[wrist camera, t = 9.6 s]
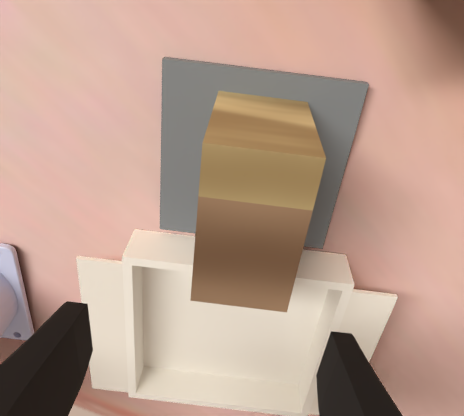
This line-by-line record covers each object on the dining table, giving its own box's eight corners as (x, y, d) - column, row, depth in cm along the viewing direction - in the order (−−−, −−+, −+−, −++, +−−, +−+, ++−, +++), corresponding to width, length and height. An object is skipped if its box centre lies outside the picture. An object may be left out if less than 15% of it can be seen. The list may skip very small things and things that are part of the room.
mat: (161, 224, 23) (159, 228, 22) (164, 56, 18) (162, 58, 18) (321, 244, 23) (322, 248, 22) (367, 82, 18) (368, 84, 18)
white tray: (104, 361, 29) (92, 392, 27) (92, 223, 23) (75, 251, 21) (336, 388, 29) (342, 422, 27) (388, 259, 23) (400, 290, 21)
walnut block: (280, 229, 22) (286, 312, 17) (206, 220, 22) (190, 300, 17) (307, 101, 18) (326, 158, 13) (218, 90, 18) (202, 142, 13)
